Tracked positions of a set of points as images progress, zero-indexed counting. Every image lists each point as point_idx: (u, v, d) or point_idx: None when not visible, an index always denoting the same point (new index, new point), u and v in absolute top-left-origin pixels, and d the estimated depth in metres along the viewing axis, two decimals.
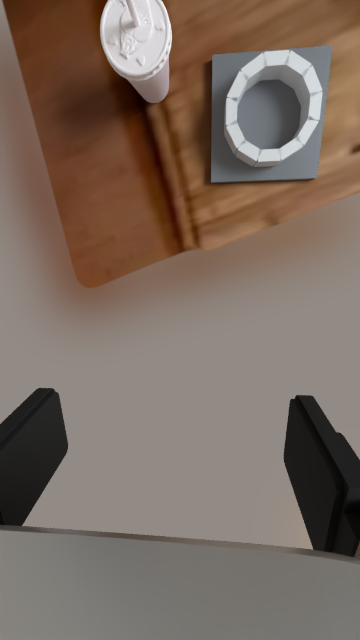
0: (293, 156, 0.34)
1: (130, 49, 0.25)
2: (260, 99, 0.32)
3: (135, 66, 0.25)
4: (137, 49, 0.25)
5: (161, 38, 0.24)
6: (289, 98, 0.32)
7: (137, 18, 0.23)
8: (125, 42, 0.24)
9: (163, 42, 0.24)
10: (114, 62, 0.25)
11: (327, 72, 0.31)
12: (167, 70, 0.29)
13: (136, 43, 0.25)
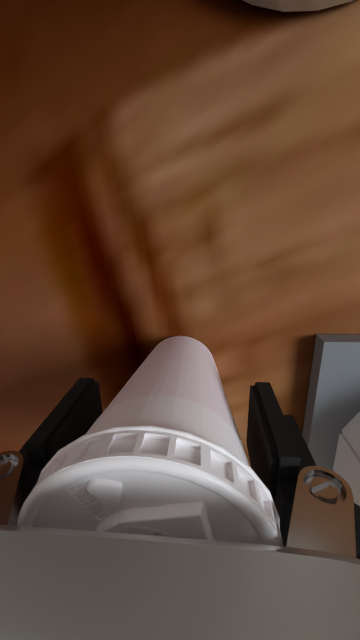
0: None
1: None
2: None
3: None
4: None
5: None
6: None
7: None
8: None
9: None
10: None
11: None
12: None
13: None
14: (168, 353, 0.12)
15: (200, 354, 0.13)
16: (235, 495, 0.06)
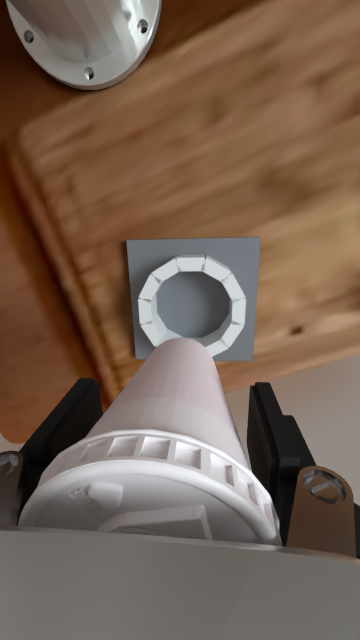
0: None
1: None
2: (183, 284, 0.28)
3: None
4: None
5: None
6: (215, 285, 0.28)
7: None
8: None
9: None
10: None
11: (256, 262, 0.27)
12: None
13: None
14: (168, 355, 0.12)
15: (200, 356, 0.13)
16: (235, 498, 0.06)
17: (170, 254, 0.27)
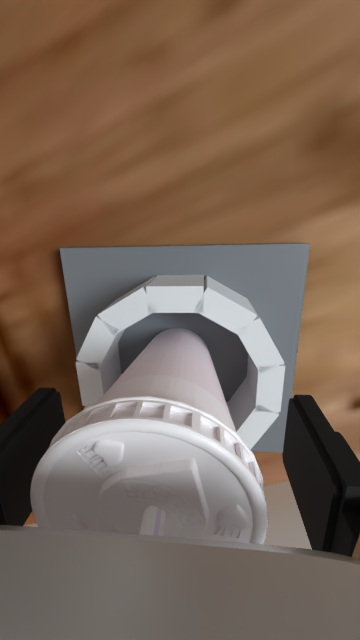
0: None
1: None
2: (166, 327, 0.16)
3: None
4: None
5: (235, 540, 0.07)
6: (224, 329, 0.16)
7: None
8: None
9: None
10: None
11: (300, 290, 0.15)
12: None
13: None
14: (165, 342, 0.13)
15: (195, 343, 0.14)
16: (221, 452, 0.06)
17: (140, 274, 0.15)
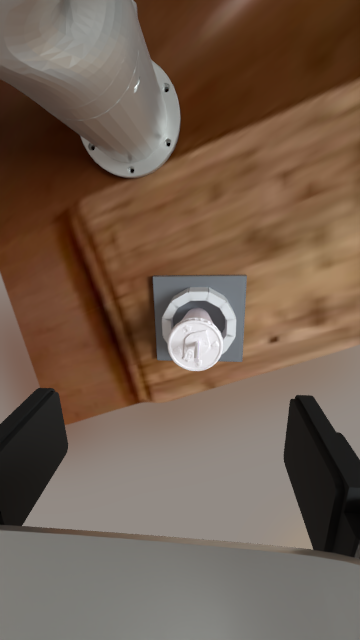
0: None
1: (191, 357, 0.32)
2: (192, 307, 0.40)
3: (194, 365, 0.32)
4: None
5: (215, 351, 0.31)
6: (215, 308, 0.40)
7: None
8: (187, 353, 0.31)
9: (217, 353, 0.31)
10: (177, 362, 0.32)
11: (244, 293, 0.39)
12: None
13: None
14: (194, 311, 0.37)
15: (204, 312, 0.38)
16: (212, 327, 0.30)
17: (183, 286, 0.39)
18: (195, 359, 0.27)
